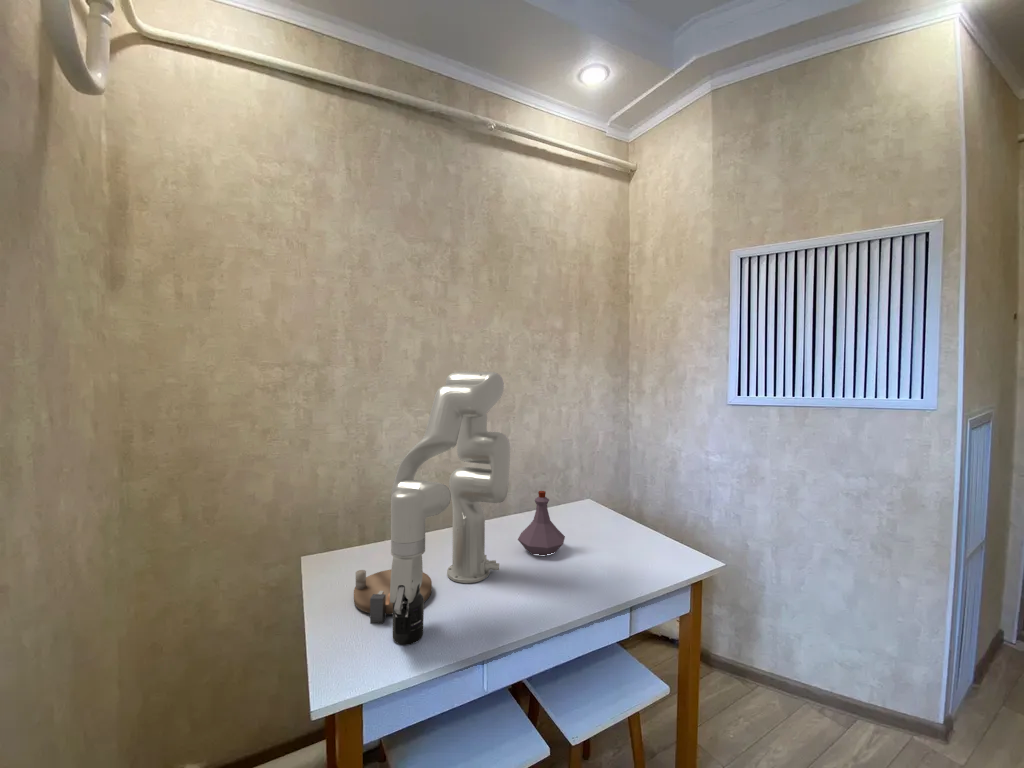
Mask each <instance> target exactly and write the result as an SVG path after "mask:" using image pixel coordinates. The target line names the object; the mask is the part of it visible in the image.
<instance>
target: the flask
mask: <svg viewBox="0 0 1024 768" xmlns="http://www.w3.org/2000/svg"><path fill="white" fill-rule="evenodd" d="M537 493H538V494H537V495H538V496H537V497H536V498H535V499H534V502H535V506H536V509H535V513H534V516H533V520H532V521H531V522H530V523H529V525H528V526H527V527H525V529H524V530H523V531H521V532H520V534H519V536H518V538H517V541H518V542H519V543H520V545H522V546H523V548H524V549H525V550H526V552H528V551H529V552H531V553H532V554H531V553H530V554H531V555H533V554H539V555H547V554H551V553H554V552H555V553H556V552H557V551H558V550H559V549H560V548H561V547H562V546H563V545H564V543H565V539H566V536H565V535H564V534H563V533H562V532H561V531H560V530H559V529H558V528H557V527H556V525H555V524H554V523H553V522H552V521H551V517H550V513H549V509H548V503H549V501H550V499H549V498H548V497H547V496H546V491H545V490H538V492H537ZM529 552H528V553H529ZM555 553H554V554H555Z"/></svg>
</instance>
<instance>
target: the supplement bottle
mask: <svg viewBox="0 0 1024 768" xmlns="http://www.w3.org/2000/svg"><path fill="white" fill-rule="evenodd" d="M403 601H408V599H407V598H404V599H403ZM395 603H396V601H395V602H394V603H393V614H392V632H391V633H392V639H393V641H394V643H396V644H398V645H401V646H408V645H413V644H416V643H417V642H419V641H420V640H421V639H422V638H423V634H424V621H425V620H424V618H425V617H424V615H425V614H424V613H425V611H424V610H425V607H424V606H425V605H424V604H425V602H424V598H423V596H422V594H421V593H420V584H419V585H418V587H417V591H416V596H415V598H414V600H413V601H412V602H411V603H410V611H409V615H411V632H410V634H409V635H406V634H396V632H395V621H396V617H395V611H394V607H395ZM406 605H407V604H402V607H403V608H404V609H405V610H406Z"/></svg>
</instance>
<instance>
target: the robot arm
mask: <svg viewBox="0 0 1024 768" xmlns="http://www.w3.org/2000/svg"><path fill="white" fill-rule="evenodd" d="M504 384H505V383H504V379H503V377H502V376H501V374H499V373H498V372H495V371H455V372H452V373H450V374H449V375H447V376H446V379H445V385H443V386H441V387H439V388H438V389H437V390H436V393H435V395H434V399H433V402H432V406H431V409H430V413H429V417H428V421H427V424H426V428H425V431H424V435H423V437H422V438H421V440H420V441H418V442H417V443H416V444H415V445H414V446H412V447H411V448H410V450H409V451H408V452H407V454H405V456H404V457H403V458H402V459H401V461H400V462H399V465H398V467H397V470H396V473H395V477H394V480H393V484H392V488H391V495H390V496H391V498H390V554H391V556H392V562H391V569H390V570H391V583H390V602H391V603H394V602H395V601H396V603H395V607H394V611H395V617H396V621H395V632H396V634H406V635H409V634H410V632H411V615H409V611H410V603H411V602H412V601H413V600H414V598H415V596H416V591H417V587H418V585H419V584H420V587H421V584H422V574H423V573H424V572H423V568H424V567H423V554H425V552H426V519H427V518H430V517H434V516H437V515H440V514H442V513H444V512H445V511H446V510H447V508H448V507H449V505H450V503H451V504H452V505H451V506H452V507H451V508H452V562H451V563H452V564H451V565H450V566H449V567H448V568H447V569H446V577H448V579H450V580H451V581H453V582H456V583H460V584H474V583H479V582H481V581H484V580H485V579H487V578H488V577H489V575H490V573H491V571H499V570H500V563H499V562H497V560H496V559H495V560H489V559H488V557H487V554H485V548H486V545H485V544H486V543H485V539H486V538H485V537H486V536H485V531H486V528H485V526H486V524H485V523H486V513H485V511H484V508H483V505H482V504H481V503H487V504H502V503H503V502H505V501H506V498H507V497H508V492H509V484H510V482H509V481H510V465H511V464H510V463H511V443H510V440H509V438H508V436H507V435H506V434H504V433H503V432H500V431H499V432H498V431H488V427H487V426H488V412H489V411H490V410H492V409H493V407H495V405H496V404H497V403H498V402H499V401H500V400H501V398H502V396H503V393H504V391H505V390H504V389H505V388H504V387H505V385H504ZM455 447H456V453H457V457H458V459H459V460H460V461H462V462H464V463H470V464H471V463H472V464H479V465H480V464H482V465H489V466H490V468H481V467H473V466H472V467H470V466H469V467H468V466H464V467H458V468H456V469H455V470H454V471H452V473H451V474H450V477H449V481H448V482H449V483H448V484H449V486H448V485H446V484H444V483H442V482H438V481H437V482H436V481H427V480H422V479H421V480H419V479H415V477H416V474H417V472H418V470H419V469H420V468H421V466H422V465H423V464H425V463H426V462H427V461H428V460H430V459H432V458H433V457H436V456H438V455H441V454H444V453H446V452H448V451H451V450H452V449H455ZM404 598H407V599H408V601H403V599H404ZM402 604H407V605H406V610H405V609H404V608H403V607H402Z"/></svg>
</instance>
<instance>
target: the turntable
mask: <svg viewBox="0 0 1024 768" xmlns="http://www.w3.org/2000/svg"><path fill="white" fill-rule="evenodd" d="M390 583H391V569H386V570H382V571H378V572H375V573H372V574H370V575H368V576H367V570H365V569H359V570H356V571H355V587H354V589H353V604H354V605H355V607H356V608H357V609H359V610H361V611H362V612H365V613H368V614H370V598H371V597H372V595H373V594H378V593H379V591H384V594H386V615H393V603H391V602H390ZM432 588H433V581H432V579H431V577H430V575H428V574H427V573H425V572H423V574H422V584H421V587H420V593H421V594H422V596H423V598H424V603H425V602H426V601H427V600H428V599H429V598H430V597H431V594H432V591H433V590H432Z"/></svg>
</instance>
